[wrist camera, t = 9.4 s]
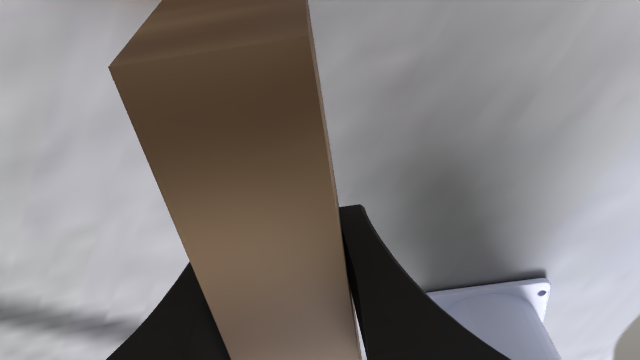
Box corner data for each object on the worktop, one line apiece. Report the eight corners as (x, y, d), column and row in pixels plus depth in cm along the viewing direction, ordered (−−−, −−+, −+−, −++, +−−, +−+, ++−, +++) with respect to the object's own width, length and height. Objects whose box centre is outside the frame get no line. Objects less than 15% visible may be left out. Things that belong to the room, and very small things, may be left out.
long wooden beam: (359, 337, 19) (377, 472, 15) (284, 347, 19) (283, 483, 15) (301, -37, 11) (308, 36, 7) (174, -16, 11) (108, 67, 7)
